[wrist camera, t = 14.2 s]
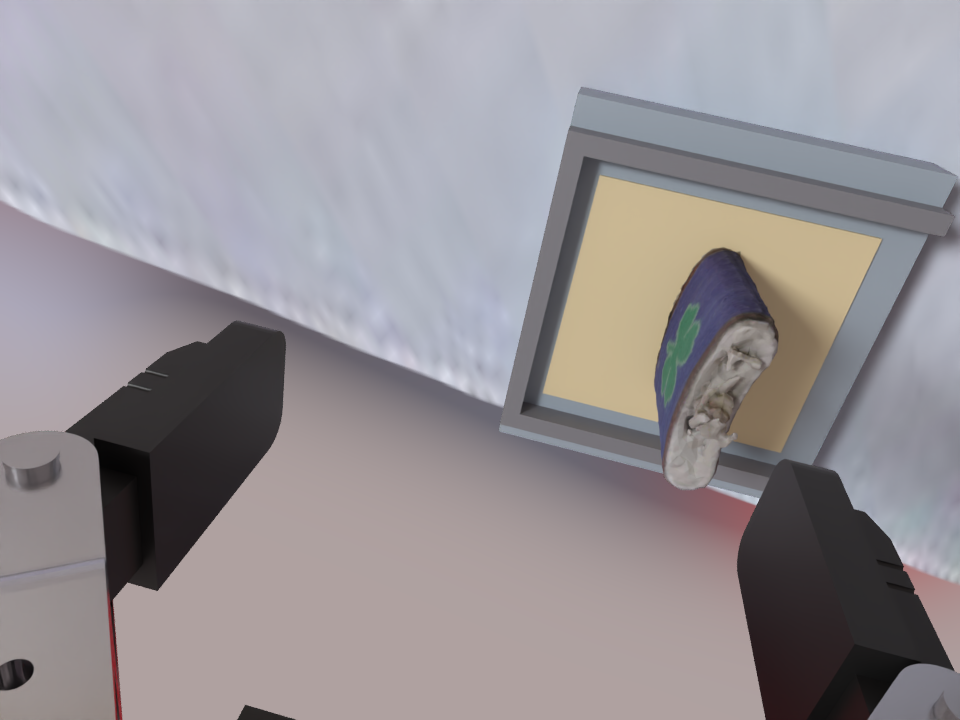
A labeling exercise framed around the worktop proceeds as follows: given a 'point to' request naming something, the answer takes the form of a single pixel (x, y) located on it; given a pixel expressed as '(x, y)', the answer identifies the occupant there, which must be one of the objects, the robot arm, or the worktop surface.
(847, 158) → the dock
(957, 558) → the worktop surface
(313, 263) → the worktop surface
